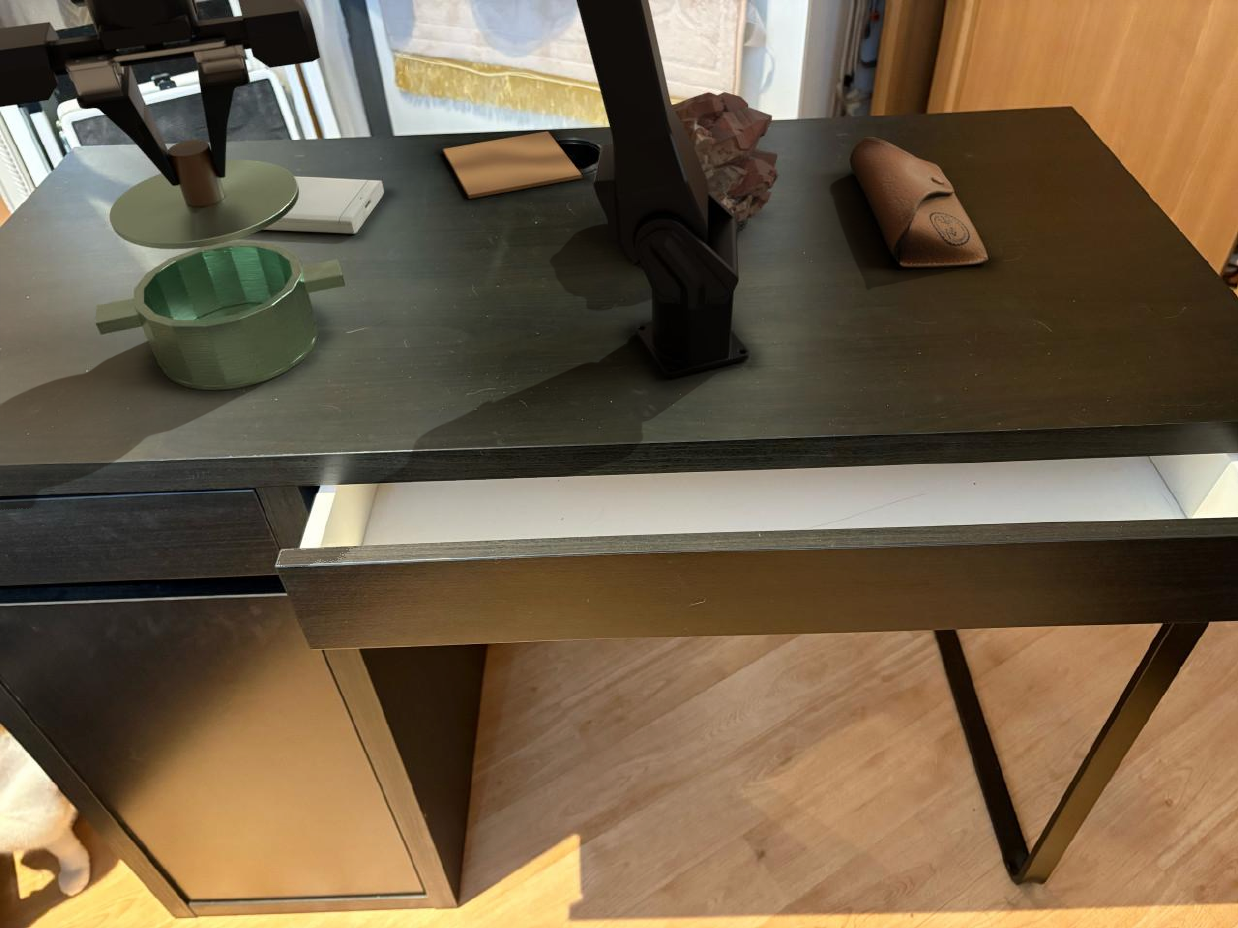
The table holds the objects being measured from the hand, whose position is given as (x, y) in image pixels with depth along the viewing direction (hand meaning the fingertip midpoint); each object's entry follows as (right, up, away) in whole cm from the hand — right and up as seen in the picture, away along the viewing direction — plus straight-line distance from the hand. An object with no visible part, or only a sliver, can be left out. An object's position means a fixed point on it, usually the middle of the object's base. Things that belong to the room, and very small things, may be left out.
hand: (199, 179), depth 64 cm
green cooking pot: (0, -10, +8) cm, 13 cm away
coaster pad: (+17, +10, +30) cm, 36 cm away
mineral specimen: (+35, +1, +19) cm, 40 cm away
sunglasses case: (+54, +3, +20) cm, 58 cm away
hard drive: (-1, +4, +24) cm, 24 cm away
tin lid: (0, -1, +1) cm, 2 cm away
